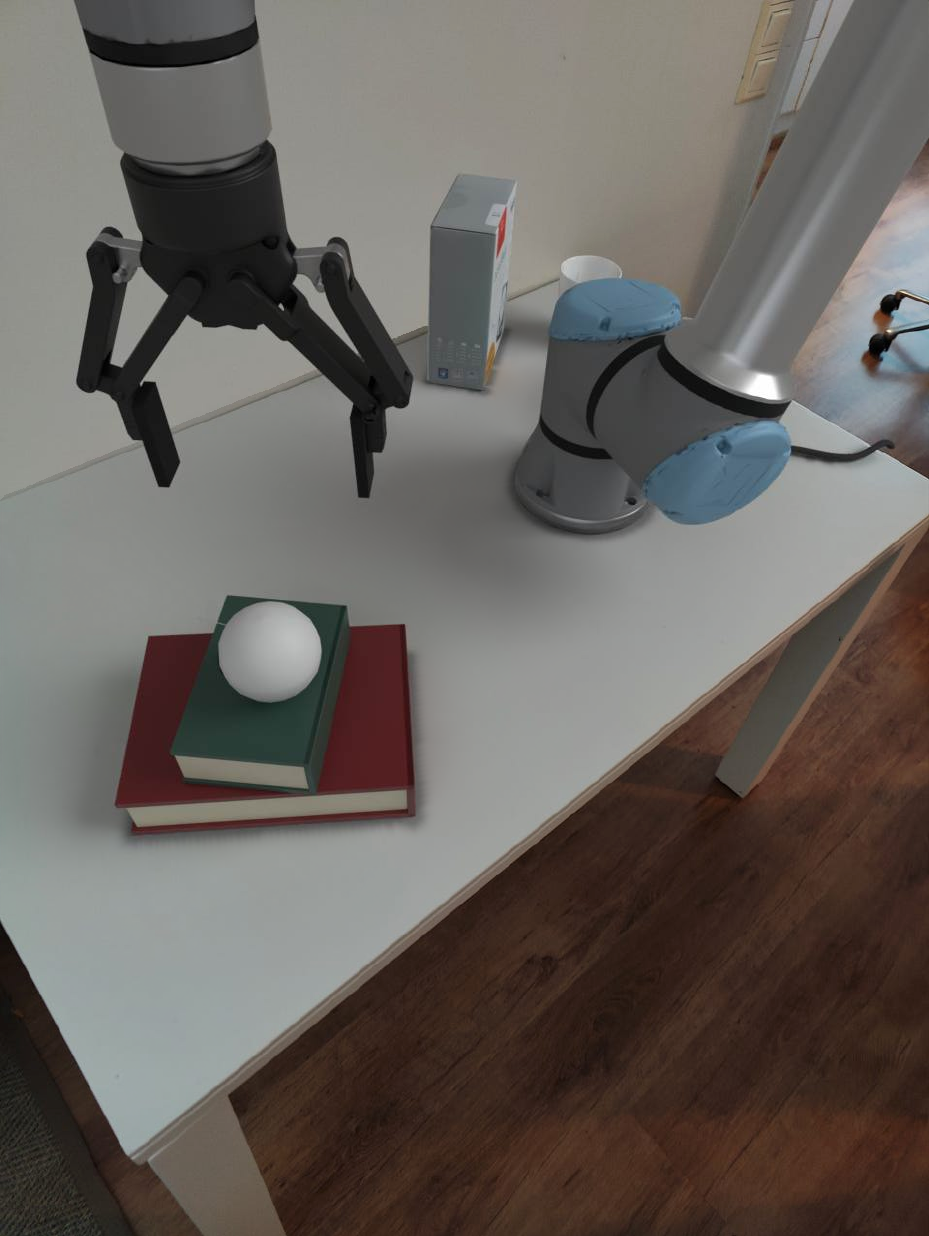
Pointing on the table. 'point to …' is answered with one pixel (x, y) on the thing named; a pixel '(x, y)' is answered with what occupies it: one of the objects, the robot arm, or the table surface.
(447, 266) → the hard drive box
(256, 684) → the white smooth round ovoid
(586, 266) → the white cup
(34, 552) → the table surface
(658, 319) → the robot arm
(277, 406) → the table surface
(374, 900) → the table surface
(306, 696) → the small book
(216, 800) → the big book
